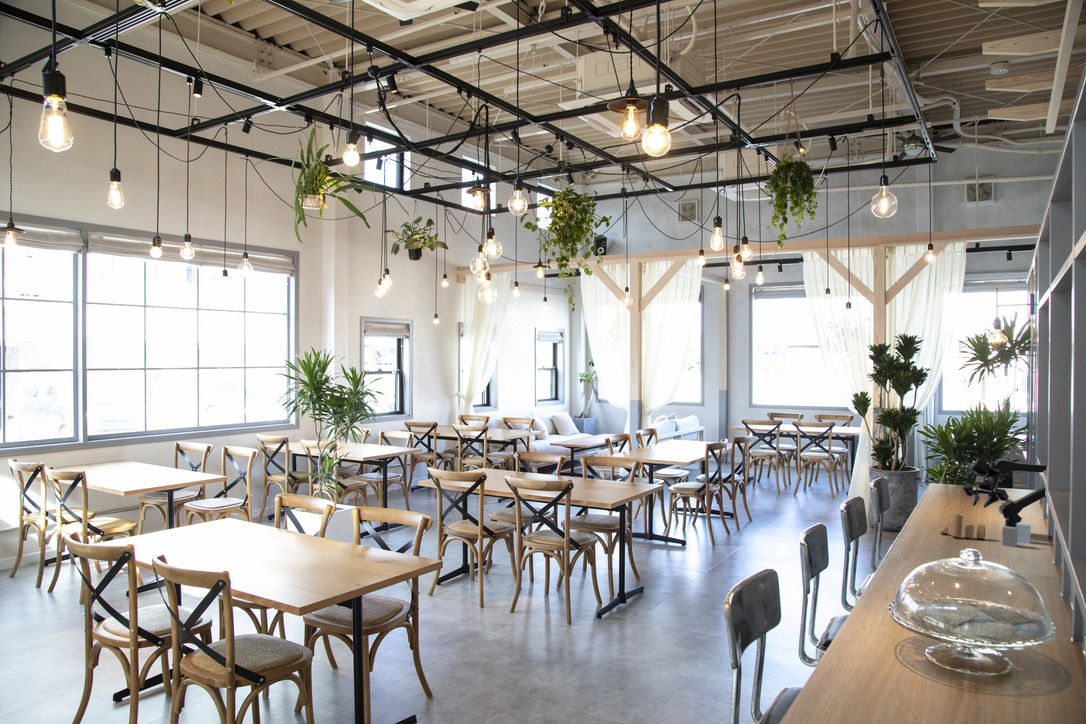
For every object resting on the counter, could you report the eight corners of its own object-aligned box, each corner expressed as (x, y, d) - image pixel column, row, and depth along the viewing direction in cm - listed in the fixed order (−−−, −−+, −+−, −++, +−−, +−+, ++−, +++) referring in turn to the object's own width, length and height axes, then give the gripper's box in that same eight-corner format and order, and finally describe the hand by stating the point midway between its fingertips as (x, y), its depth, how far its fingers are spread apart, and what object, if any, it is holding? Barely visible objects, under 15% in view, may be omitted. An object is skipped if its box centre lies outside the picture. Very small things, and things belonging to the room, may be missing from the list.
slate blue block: (1017, 539, 332) (1017, 522, 332) (1030, 541, 329) (1030, 524, 329) (1016, 541, 328) (1016, 524, 329) (1029, 543, 325) (1029, 525, 325)
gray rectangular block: (1003, 543, 325) (1003, 525, 325) (1017, 545, 322) (1017, 527, 322) (1002, 545, 321) (1002, 527, 321) (1016, 547, 318) (1016, 529, 318)
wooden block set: (984, 544, 333) (985, 522, 336) (983, 540, 326) (985, 518, 330) (940, 537, 343) (942, 516, 347) (938, 533, 337) (940, 511, 340)
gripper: (964, 467, 354) (952, 492, 348) (1005, 472, 338) (993, 498, 332) (973, 482, 358) (961, 507, 352) (1014, 488, 342) (1002, 513, 336)
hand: (978, 506), depth 343 cm, fingers open, 5 cm apart
